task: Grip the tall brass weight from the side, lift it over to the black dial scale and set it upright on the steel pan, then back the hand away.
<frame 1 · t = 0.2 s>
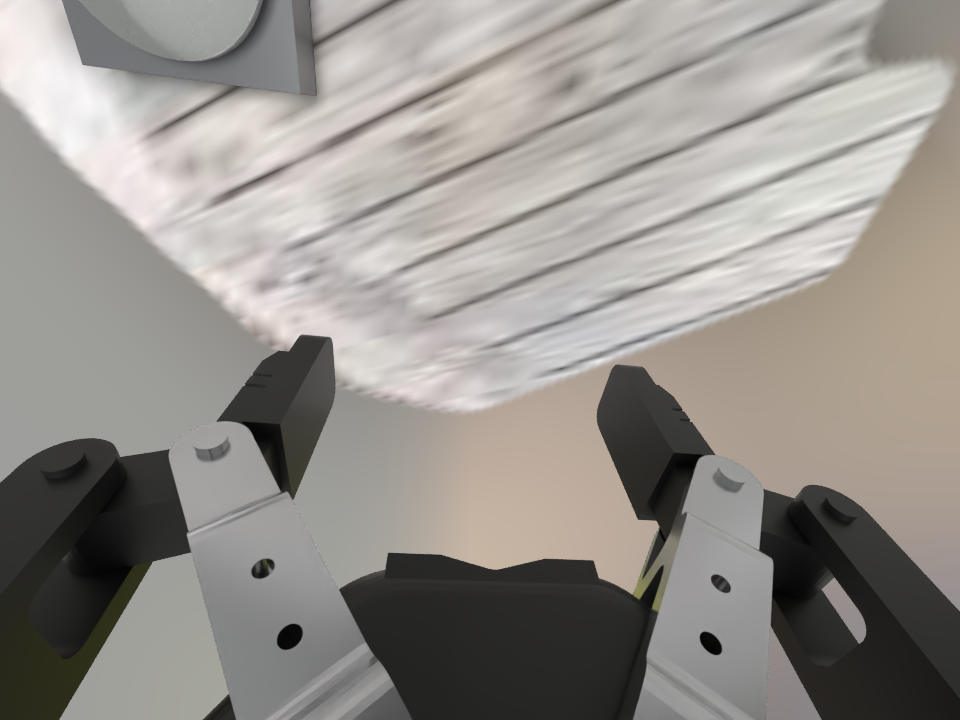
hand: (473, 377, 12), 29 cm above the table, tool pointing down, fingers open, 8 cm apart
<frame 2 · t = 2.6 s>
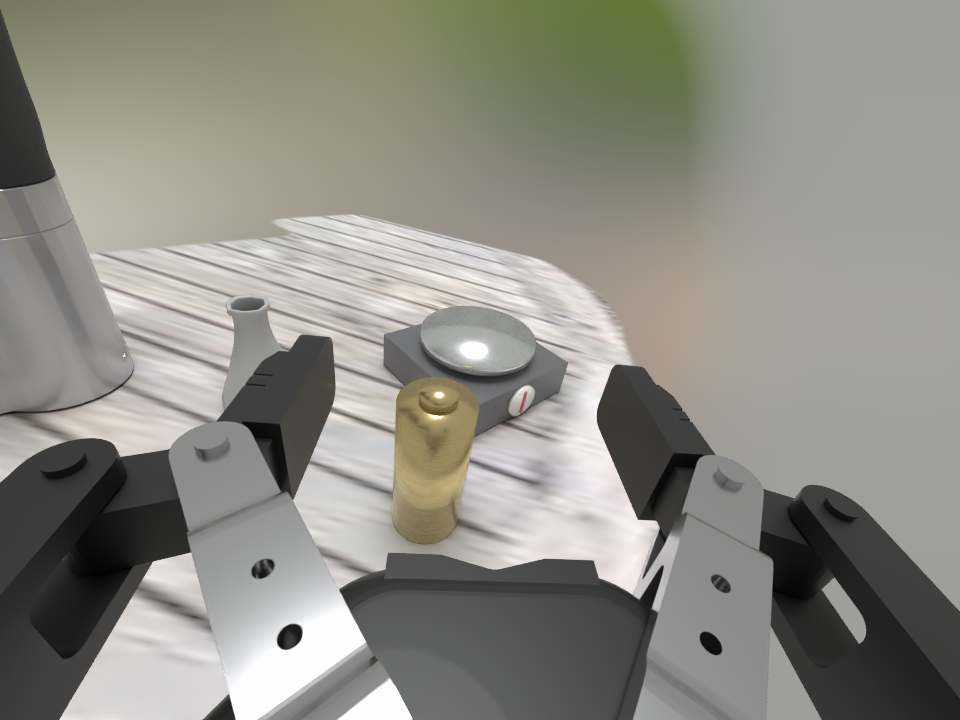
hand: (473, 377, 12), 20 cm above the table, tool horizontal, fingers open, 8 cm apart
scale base: (471, 378, 46), on the table
scale pan: (478, 337, 43), point 5 cm above the table, slide at 0.6 cm
flask: (266, 399, 39), on the table
brass weight: (426, 513, 31), on the table
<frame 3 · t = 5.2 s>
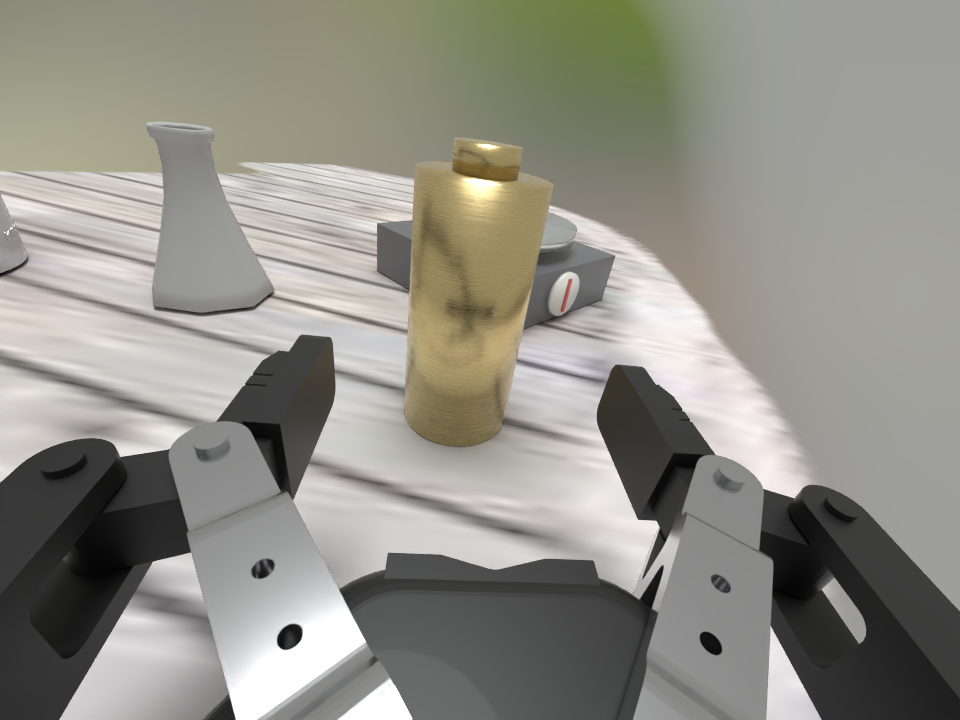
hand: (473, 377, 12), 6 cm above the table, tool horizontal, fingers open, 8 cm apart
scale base: (491, 285, 36), on the table
scale pan: (501, 222, 33), point 5 cm above the table, slide at 0.6 cm
flask: (217, 295, 28), on the table
brass weight: (454, 410, 21), on the table
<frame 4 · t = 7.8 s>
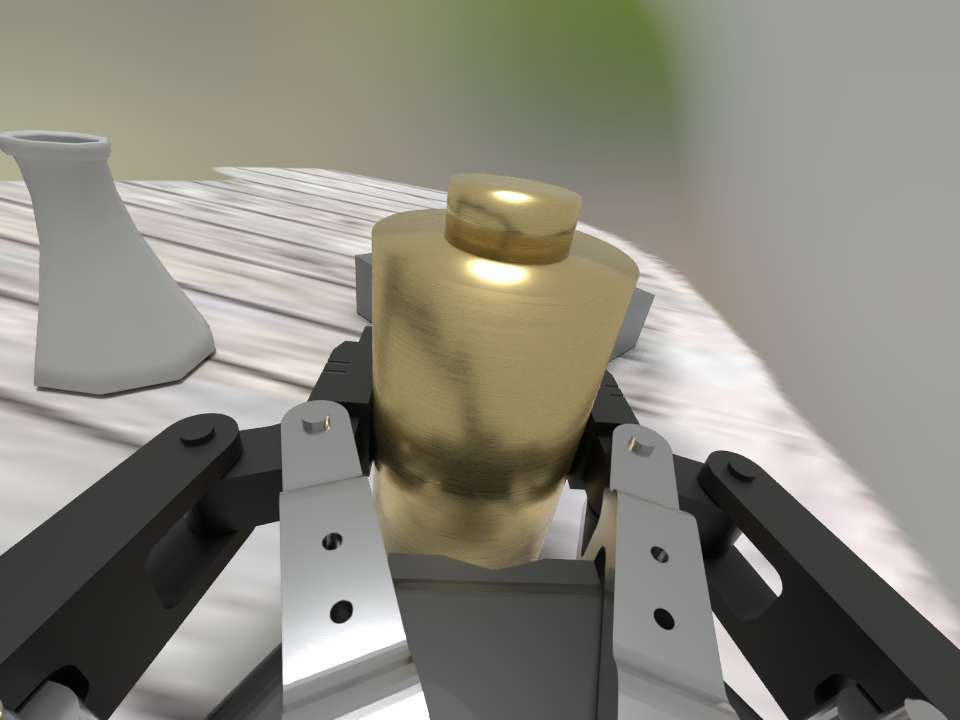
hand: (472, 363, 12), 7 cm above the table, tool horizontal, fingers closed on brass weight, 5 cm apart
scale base: (498, 329, 29), on the table
flask: (137, 359, 21), on the table
brass weight: (451, 569, 14), on the table, touching gripper
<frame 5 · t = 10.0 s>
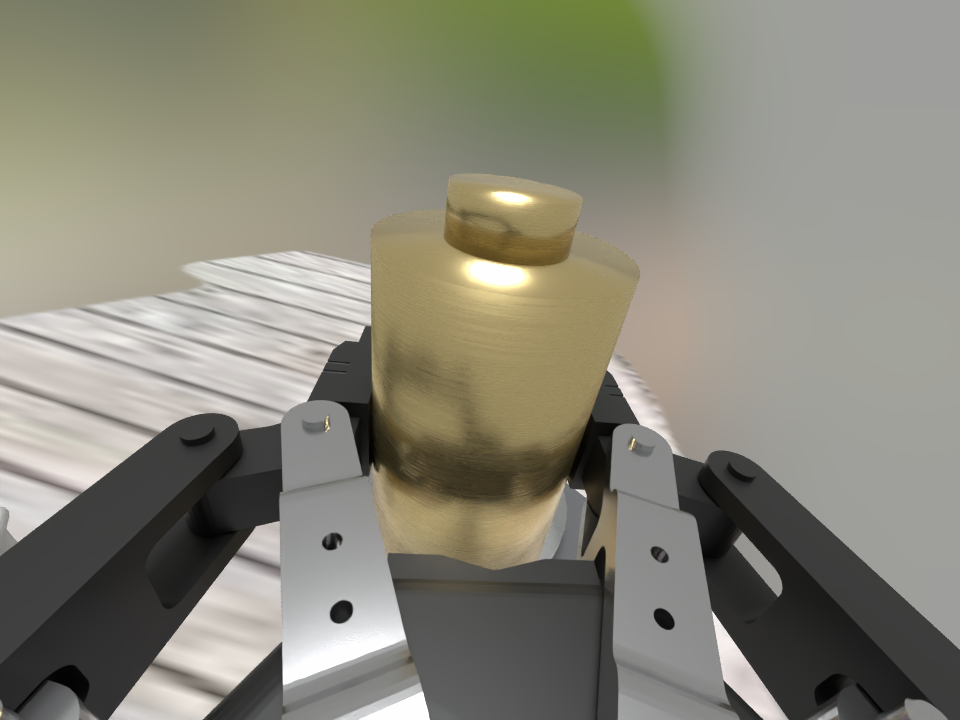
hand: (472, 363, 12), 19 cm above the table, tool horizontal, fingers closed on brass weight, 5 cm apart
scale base: (457, 547, 28), on the table
scale pan: (466, 493, 25), point 5 cm above the table, slide at 0.6 cm
flask: (57, 667, 20), on the table
brass weight: (451, 570, 14), point 12 cm above the table, touching gripper
when the fingers open (14 cm above the table, at t = 12.4 s): brass weight drops 2 cm, resting on scale pan.
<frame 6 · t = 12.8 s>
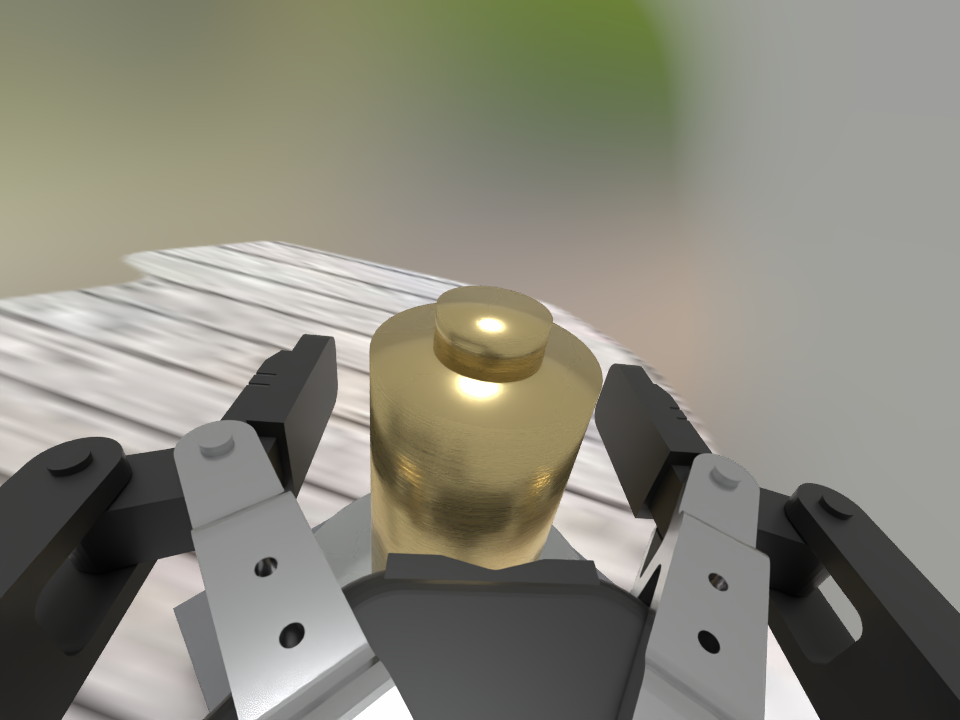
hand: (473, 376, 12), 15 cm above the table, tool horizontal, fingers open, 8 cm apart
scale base: (433, 673, 18), on the table
scale pan: (443, 613, 15), point 5 cm above the table, slide at 0.9 cm, touching brass weight
brass weight: (443, 610, 15), point 6 cm above the table, touching scale pan
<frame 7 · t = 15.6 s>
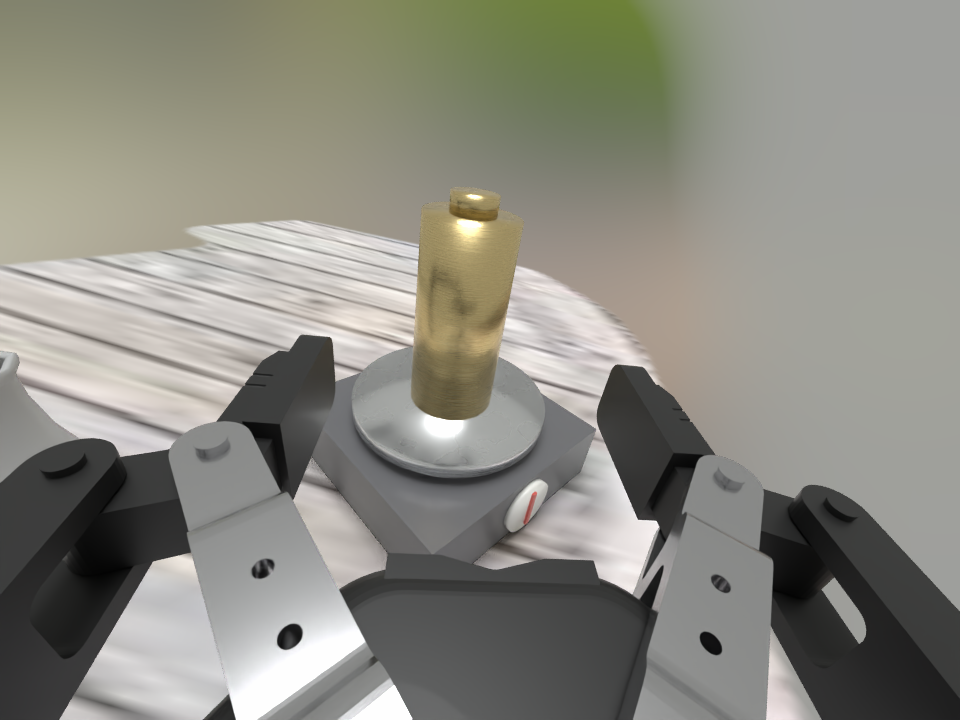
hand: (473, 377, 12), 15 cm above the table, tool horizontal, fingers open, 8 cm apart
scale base: (443, 456, 29), on the table
scale pan: (450, 399, 26), point 5 cm above the table, slide at 0.9 cm, touching brass weight
flask: (62, 532, 21), on the table
brass weight: (450, 394, 26), point 6 cm above the table, touching scale pan
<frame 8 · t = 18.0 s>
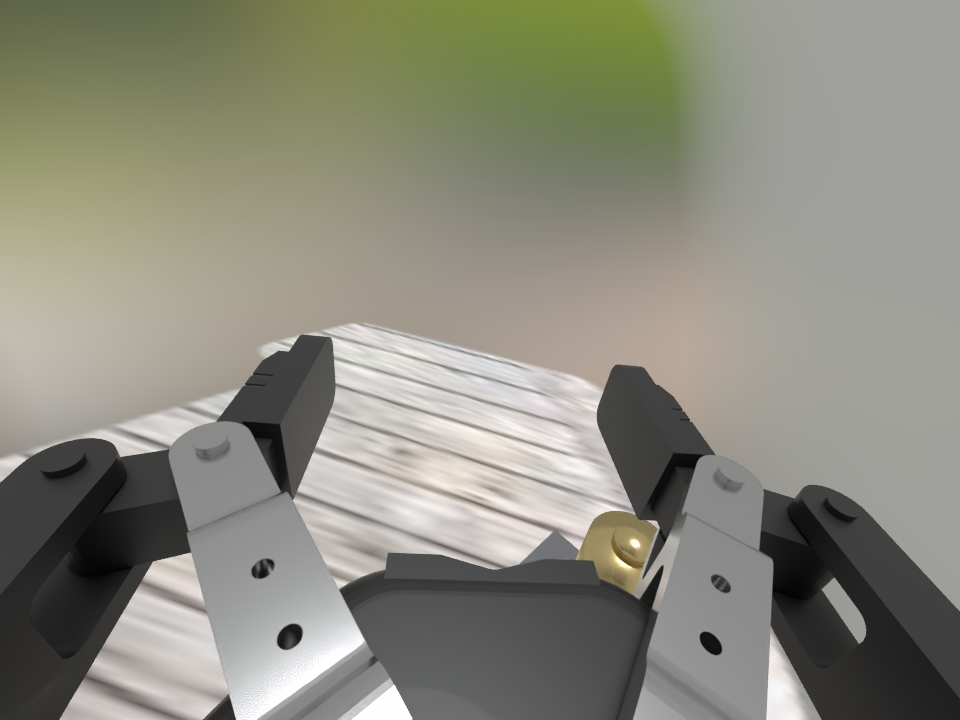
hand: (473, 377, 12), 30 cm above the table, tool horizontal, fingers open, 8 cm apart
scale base: (562, 673, 32), on the table
scale pan: (579, 641, 29), point 5 cm above the table, slide at 0.9 cm, touching brass weight
brass weight: (581, 640, 29), point 6 cm above the table, touching scale pan
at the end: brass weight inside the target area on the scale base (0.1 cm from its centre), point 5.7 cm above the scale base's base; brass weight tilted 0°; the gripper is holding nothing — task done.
